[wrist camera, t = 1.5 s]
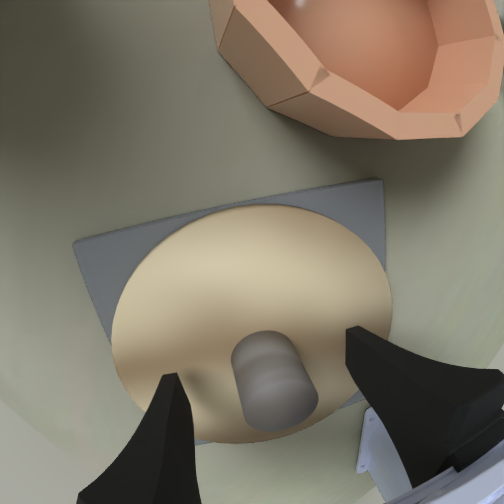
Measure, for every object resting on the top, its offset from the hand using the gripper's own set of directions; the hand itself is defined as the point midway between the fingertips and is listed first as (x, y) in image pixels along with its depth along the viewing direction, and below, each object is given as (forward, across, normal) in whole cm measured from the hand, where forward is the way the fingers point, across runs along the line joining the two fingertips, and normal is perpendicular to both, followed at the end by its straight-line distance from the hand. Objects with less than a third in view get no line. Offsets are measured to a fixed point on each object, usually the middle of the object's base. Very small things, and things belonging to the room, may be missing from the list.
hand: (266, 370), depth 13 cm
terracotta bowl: (+2, -6, -14) cm, 15 cm away
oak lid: (+2, 0, 0) cm, 2 cm away
